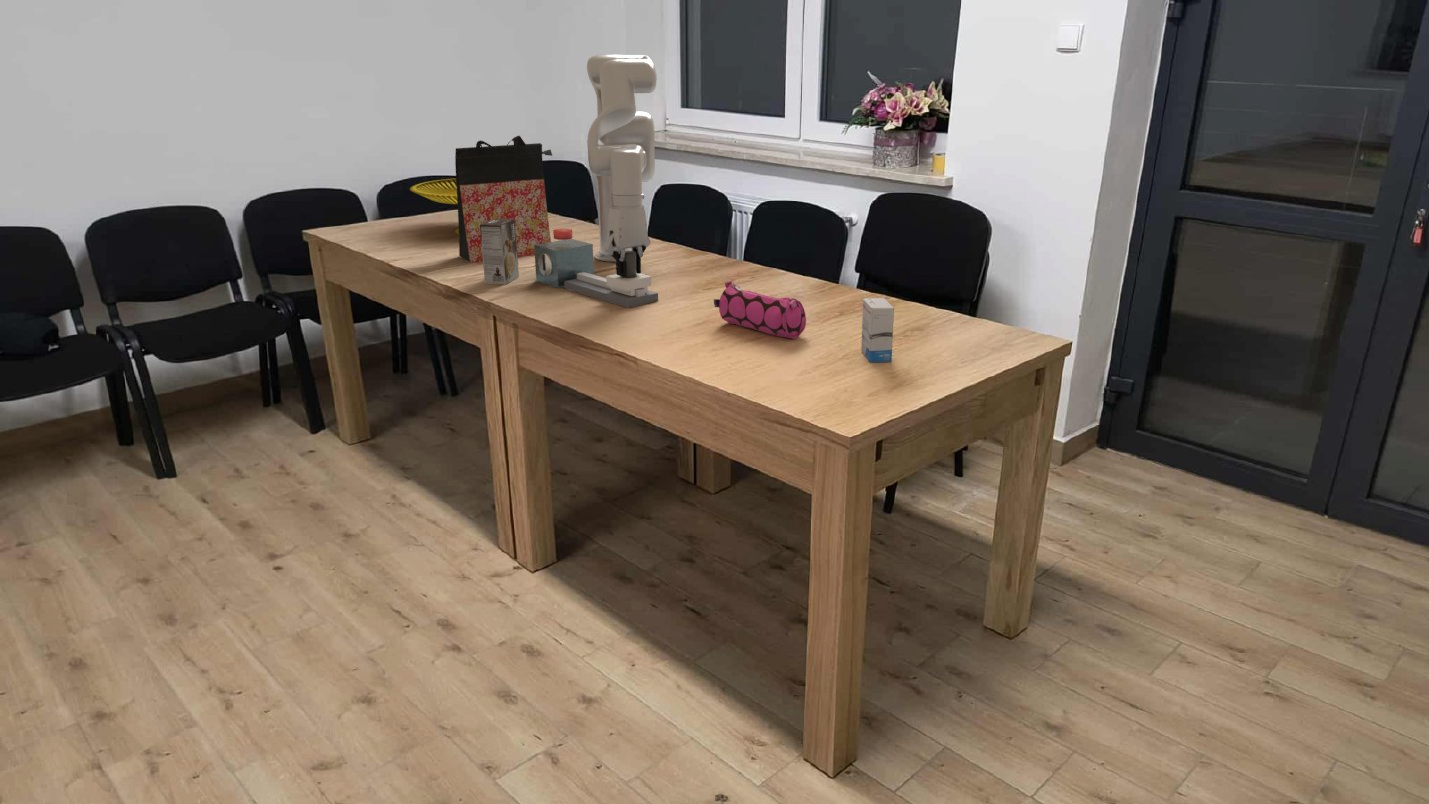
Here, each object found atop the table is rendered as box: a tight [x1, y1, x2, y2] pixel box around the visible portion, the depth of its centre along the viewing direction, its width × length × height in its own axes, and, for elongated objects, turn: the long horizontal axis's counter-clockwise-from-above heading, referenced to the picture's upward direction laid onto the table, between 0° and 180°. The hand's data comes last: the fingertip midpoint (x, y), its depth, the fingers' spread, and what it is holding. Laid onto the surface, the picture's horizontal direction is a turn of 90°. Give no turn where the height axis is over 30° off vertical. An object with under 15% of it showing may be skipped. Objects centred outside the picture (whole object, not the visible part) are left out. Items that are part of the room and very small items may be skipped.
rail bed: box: [564, 272, 659, 309], centre depth 253 cm, size 10×26×4 cm, turn 44°
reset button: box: [552, 228, 573, 241], centre depth 262 cm, size 5×5×2 cm
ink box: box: [860, 297, 895, 363], centre depth 206 cm, size 9×5×12 cm, turn 5°
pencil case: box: [713, 280, 807, 340], centre depth 223 cm, size 21×10×10 cm, turn 49°
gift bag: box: [454, 135, 553, 263], centre depth 290 cm, size 29×14×35 cm, turn 122°
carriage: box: [605, 251, 652, 296], centre depth 246 cm, size 8×8×10 cm
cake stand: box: [409, 178, 459, 235], centre depth 326 cm, size 40×40×15 cm
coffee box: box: [480, 219, 520, 285], centre depth 264 cm, size 9×6×16 cm
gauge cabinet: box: [534, 238, 595, 289], centre depth 264 cm, size 13×10×10 cm
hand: (628, 273), depth 246 cm, fingers closed on carriage, 4 cm apart
